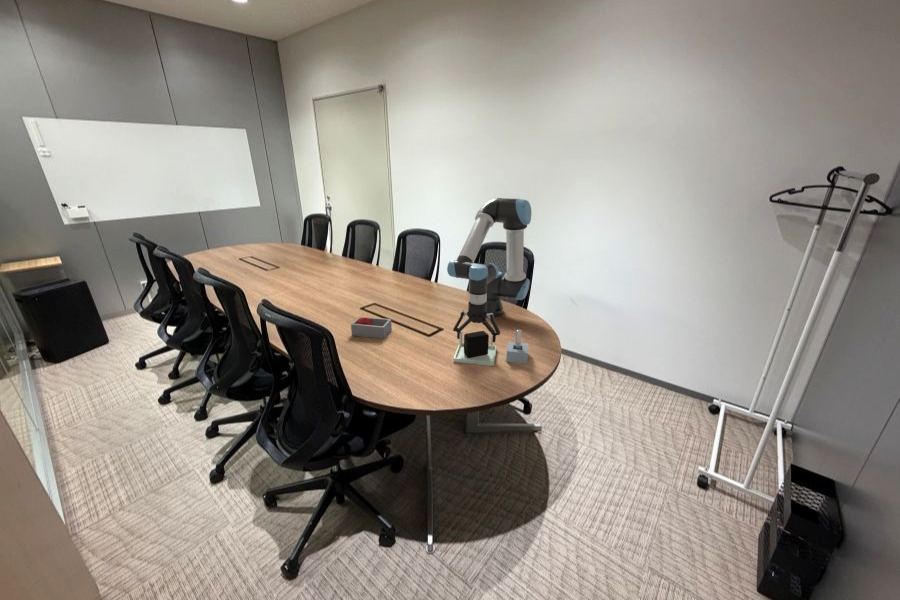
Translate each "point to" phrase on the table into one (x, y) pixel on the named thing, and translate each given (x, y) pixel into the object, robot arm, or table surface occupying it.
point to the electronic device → (476, 344)
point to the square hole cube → (517, 353)
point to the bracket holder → (372, 328)
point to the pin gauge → (518, 339)
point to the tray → (479, 360)
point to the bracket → (364, 320)
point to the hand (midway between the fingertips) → (476, 347)
